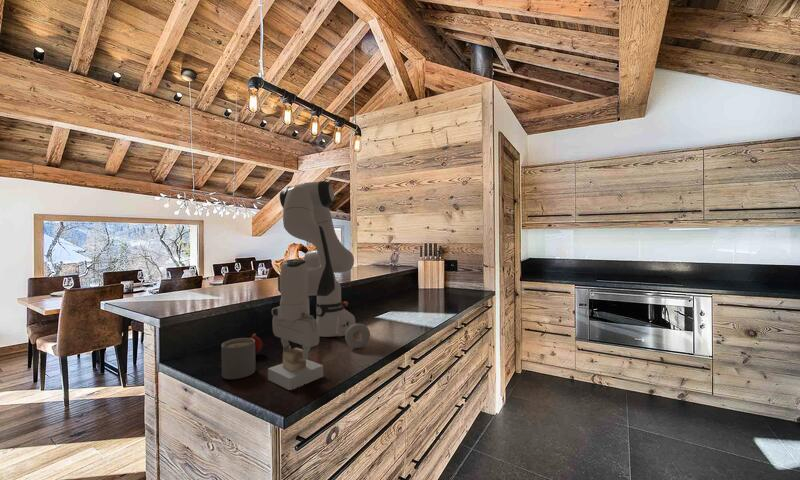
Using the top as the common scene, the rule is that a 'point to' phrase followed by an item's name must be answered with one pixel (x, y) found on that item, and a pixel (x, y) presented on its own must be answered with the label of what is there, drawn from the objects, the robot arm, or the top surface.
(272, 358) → the top surface
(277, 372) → the painted block
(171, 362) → the top surface
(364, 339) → the donut
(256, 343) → the onion
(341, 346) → the top surface
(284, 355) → the maple cube
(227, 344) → the coffee mug
